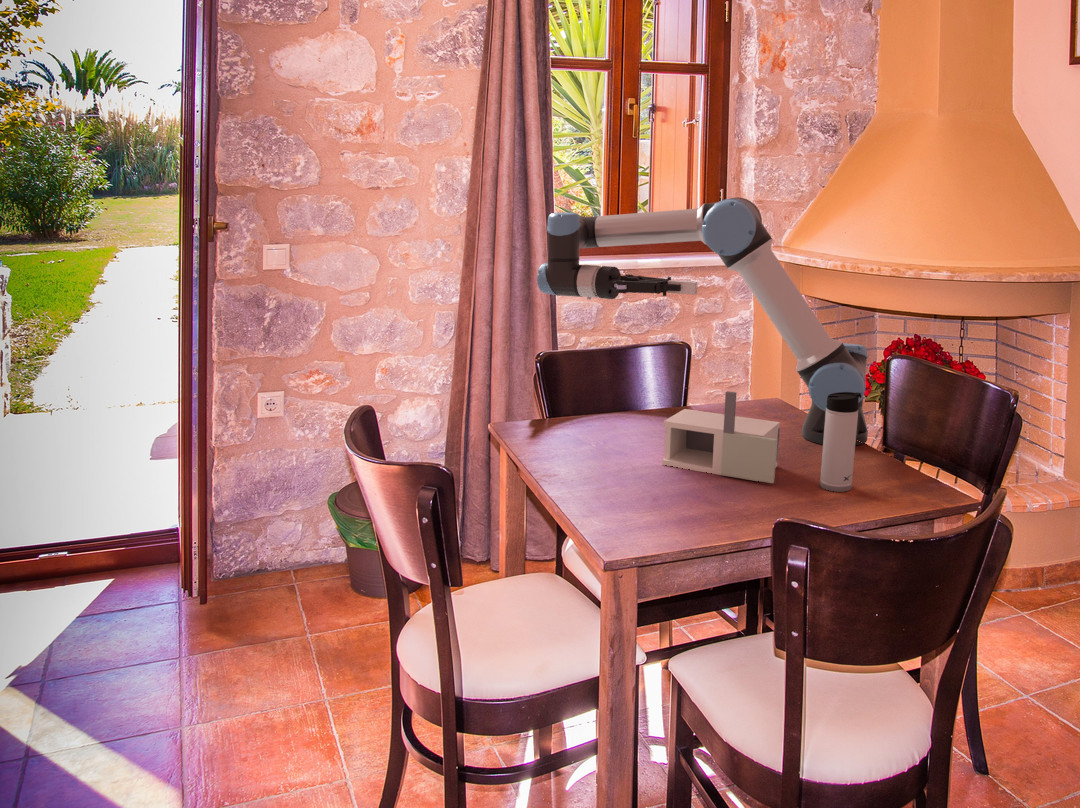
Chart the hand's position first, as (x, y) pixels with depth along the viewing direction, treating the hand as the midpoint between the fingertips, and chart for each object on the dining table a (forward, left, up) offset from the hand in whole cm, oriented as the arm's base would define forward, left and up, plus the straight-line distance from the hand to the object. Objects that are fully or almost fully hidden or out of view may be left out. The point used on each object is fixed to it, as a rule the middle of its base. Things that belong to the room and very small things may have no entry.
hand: (696, 288), depth 222 cm
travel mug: (-26, +28, -37) cm, 53 cm away
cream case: (-5, +14, -37) cm, 40 cm away
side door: (-9, +24, -36) cm, 44 cm away
